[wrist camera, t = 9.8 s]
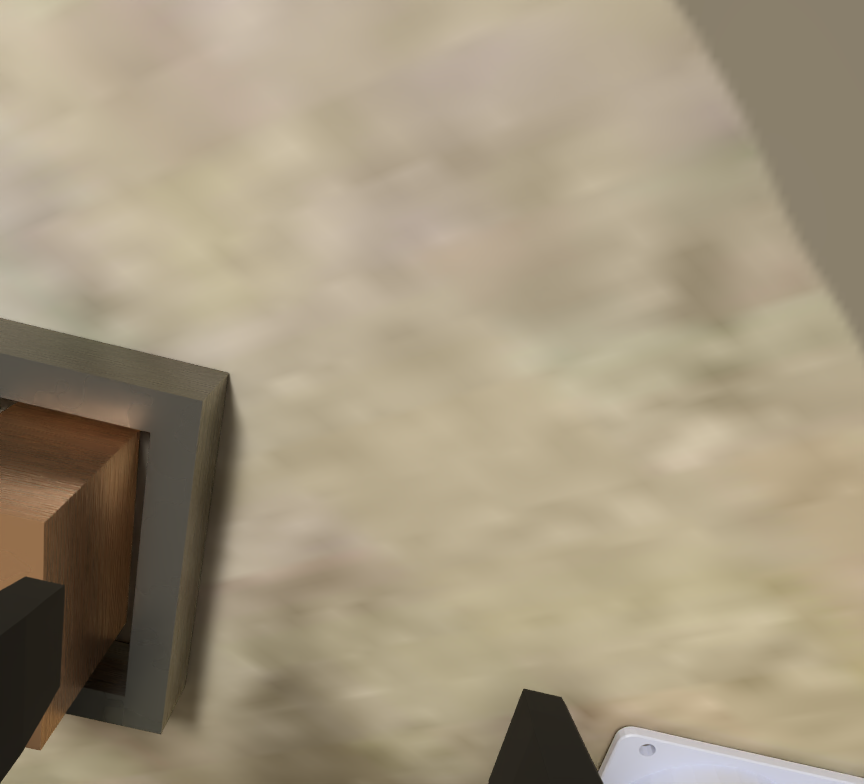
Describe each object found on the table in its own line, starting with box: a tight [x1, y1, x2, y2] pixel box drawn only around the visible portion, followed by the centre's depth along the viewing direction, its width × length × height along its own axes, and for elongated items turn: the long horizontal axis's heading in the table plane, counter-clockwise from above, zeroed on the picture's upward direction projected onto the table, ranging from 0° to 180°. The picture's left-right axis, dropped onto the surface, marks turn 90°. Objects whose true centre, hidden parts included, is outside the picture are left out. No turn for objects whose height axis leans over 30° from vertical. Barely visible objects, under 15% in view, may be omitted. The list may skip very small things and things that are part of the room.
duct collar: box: [0, 318, 229, 734], centre depth 20 cm, size 8×11×2 cm
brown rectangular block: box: [0, 402, 140, 750], centre depth 19 cm, size 7×4×5 cm, turn 167°
